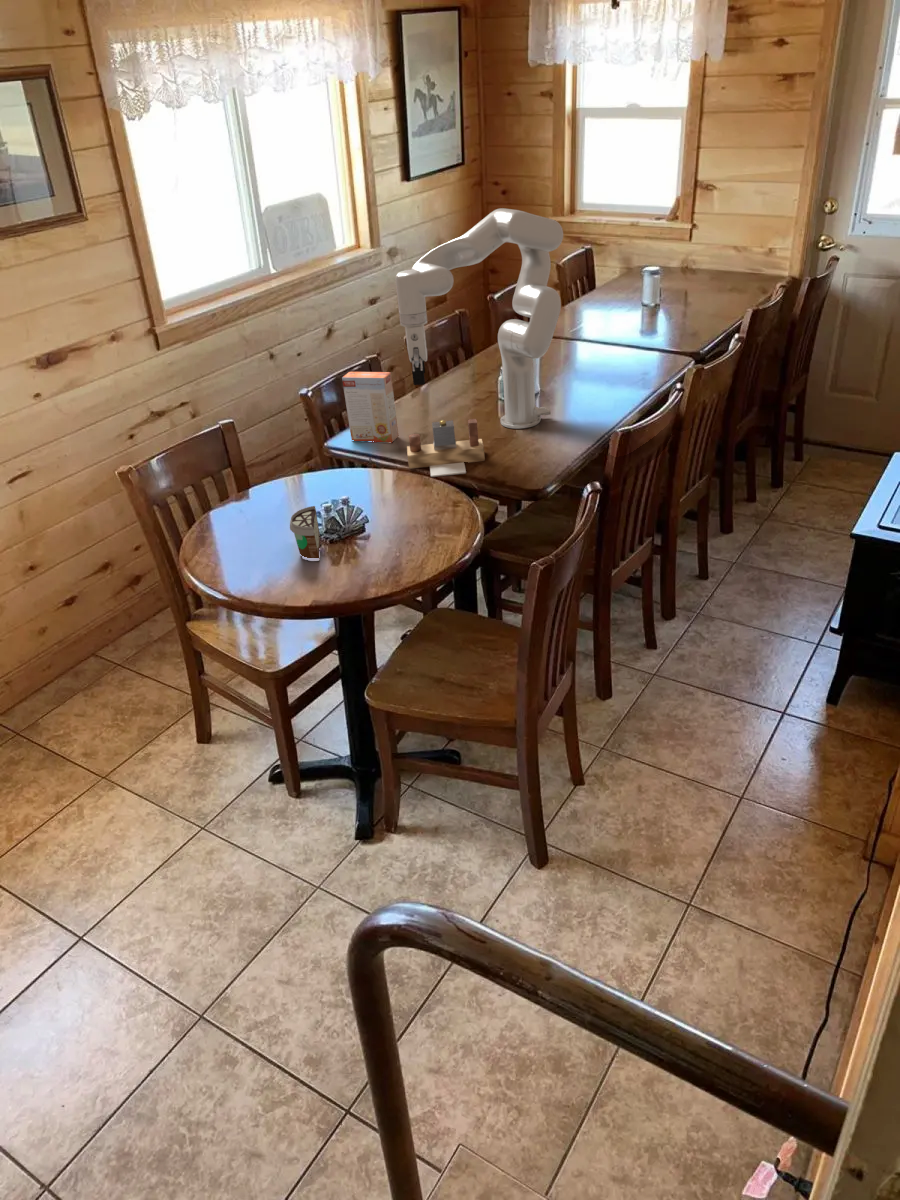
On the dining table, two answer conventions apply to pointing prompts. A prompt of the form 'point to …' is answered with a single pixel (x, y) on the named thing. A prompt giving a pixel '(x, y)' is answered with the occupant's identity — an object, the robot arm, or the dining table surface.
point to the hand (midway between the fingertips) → (419, 378)
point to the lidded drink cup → (306, 531)
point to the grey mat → (447, 469)
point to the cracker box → (370, 406)
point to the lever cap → (443, 433)
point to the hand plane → (446, 450)
